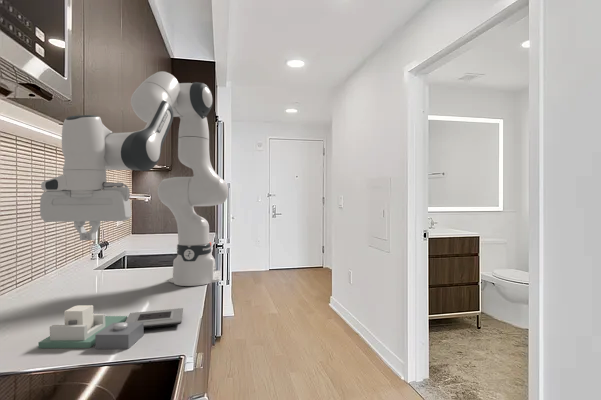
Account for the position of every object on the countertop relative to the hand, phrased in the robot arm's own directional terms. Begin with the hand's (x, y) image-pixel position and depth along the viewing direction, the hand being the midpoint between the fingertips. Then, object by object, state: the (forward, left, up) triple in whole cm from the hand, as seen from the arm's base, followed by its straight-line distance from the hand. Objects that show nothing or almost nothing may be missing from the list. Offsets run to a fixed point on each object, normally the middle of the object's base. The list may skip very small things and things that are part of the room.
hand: (88, 240), depth 85 cm
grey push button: (+8, +11, -22) cm, 26 cm away
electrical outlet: (-3, +14, -22) cm, 27 cm away
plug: (+5, +1, -20) cm, 21 cm away
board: (+3, +1, -22) cm, 22 cm away
